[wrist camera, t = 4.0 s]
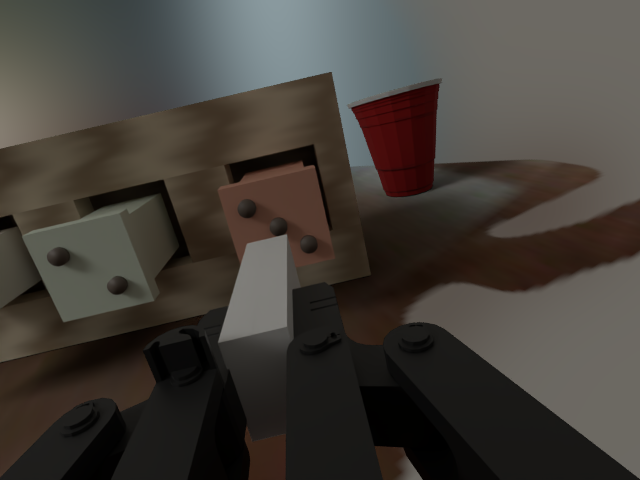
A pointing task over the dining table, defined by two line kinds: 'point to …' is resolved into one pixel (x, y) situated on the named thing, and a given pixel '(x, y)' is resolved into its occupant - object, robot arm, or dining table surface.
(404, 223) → the dining table surface
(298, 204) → the button
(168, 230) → the button
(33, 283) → the button
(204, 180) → the console
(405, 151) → the plastic cup
